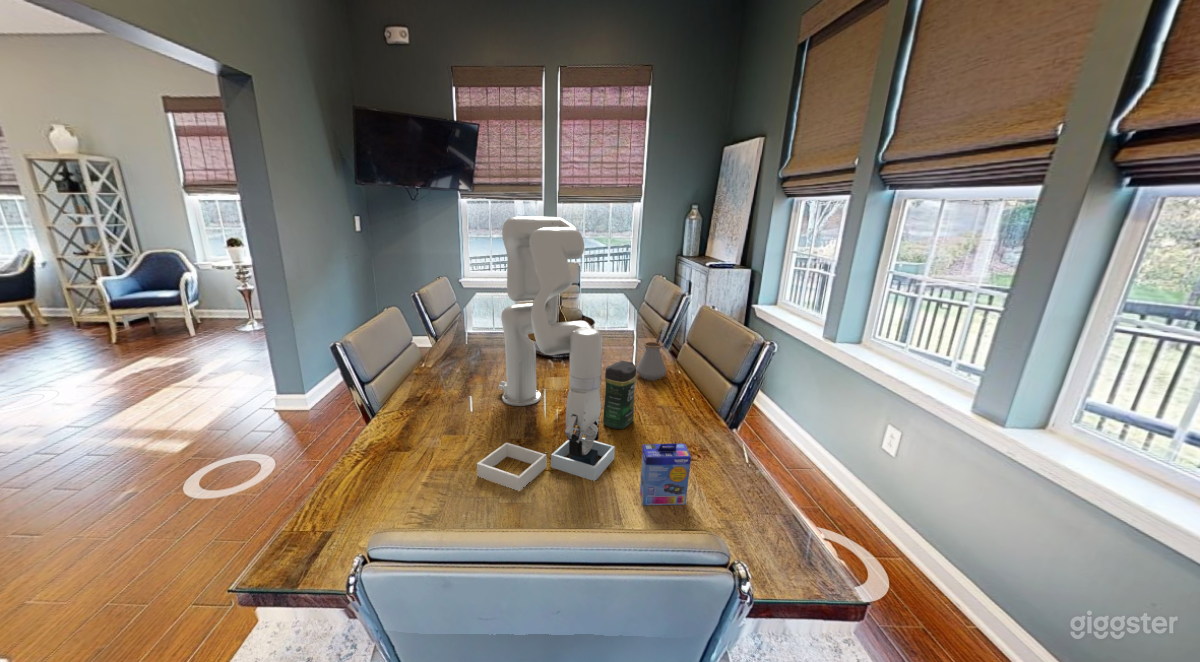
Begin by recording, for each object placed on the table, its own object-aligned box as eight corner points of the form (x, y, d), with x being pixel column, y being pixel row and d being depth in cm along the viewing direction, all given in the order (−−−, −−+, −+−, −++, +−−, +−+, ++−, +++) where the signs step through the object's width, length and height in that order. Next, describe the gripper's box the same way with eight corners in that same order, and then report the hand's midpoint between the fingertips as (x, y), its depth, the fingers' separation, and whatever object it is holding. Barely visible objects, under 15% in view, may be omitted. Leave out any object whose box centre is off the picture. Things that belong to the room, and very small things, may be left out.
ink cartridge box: (642, 507, 95) (646, 446, 91) (638, 491, 100) (641, 433, 97) (687, 505, 96) (693, 445, 92) (681, 490, 101) (686, 432, 97)
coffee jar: (623, 432, 126) (626, 371, 121) (599, 425, 130) (600, 366, 125) (637, 419, 134) (640, 361, 129) (614, 413, 138) (616, 356, 133)
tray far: (551, 467, 109) (551, 454, 108) (573, 446, 118) (573, 435, 117) (594, 481, 104) (595, 468, 103) (614, 458, 113) (614, 446, 112)
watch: (600, 457, 113) (601, 418, 110) (587, 474, 106) (587, 432, 103) (580, 452, 116) (581, 414, 113) (566, 468, 108) (566, 427, 105)
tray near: (477, 476, 104) (476, 463, 103) (506, 454, 114) (506, 442, 113) (519, 491, 99) (519, 478, 98) (546, 467, 109) (546, 454, 108)
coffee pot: (662, 384, 162) (665, 345, 158) (632, 379, 165) (633, 341, 161) (673, 365, 181) (676, 330, 177) (646, 362, 185) (648, 327, 181)
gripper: (588, 366, 114) (587, 428, 119) (552, 390, 99) (552, 459, 104) (614, 372, 111) (612, 435, 116) (581, 397, 96) (580, 468, 101)
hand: (584, 446), depth 110 cm, fingers closed on watch, 8 cm apart
